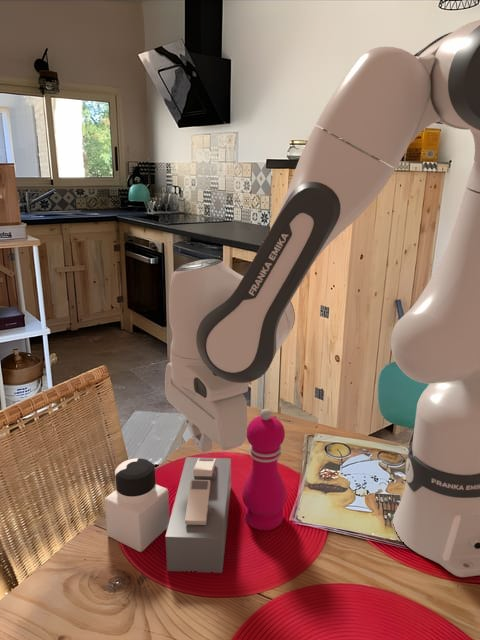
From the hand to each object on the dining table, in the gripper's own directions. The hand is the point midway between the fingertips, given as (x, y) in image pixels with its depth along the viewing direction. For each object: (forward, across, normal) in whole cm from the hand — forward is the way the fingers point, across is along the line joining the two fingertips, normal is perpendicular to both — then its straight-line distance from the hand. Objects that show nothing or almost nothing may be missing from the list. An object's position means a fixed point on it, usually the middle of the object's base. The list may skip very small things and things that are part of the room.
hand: (202, 447), depth 79 cm
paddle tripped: (+5, -2, +1) cm, 6 cm away
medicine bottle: (+13, -2, -10) cm, 17 cm away
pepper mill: (+13, +6, +8) cm, 17 cm away
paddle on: (+5, +5, -4) cm, 8 cm away
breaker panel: (+13, +2, -1) cm, 13 cm away
